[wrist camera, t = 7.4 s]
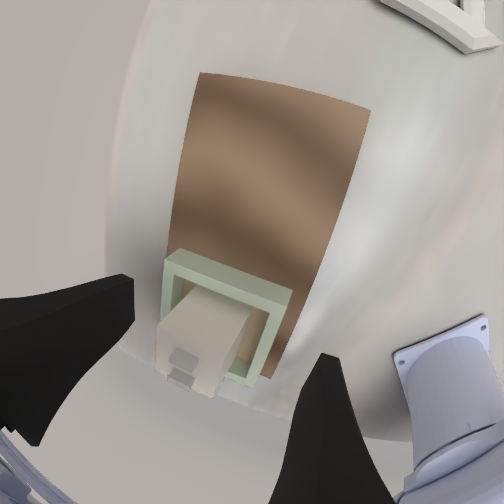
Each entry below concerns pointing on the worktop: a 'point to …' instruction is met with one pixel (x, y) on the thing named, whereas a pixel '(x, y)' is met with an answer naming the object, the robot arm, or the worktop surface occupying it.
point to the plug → (201, 339)
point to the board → (265, 182)
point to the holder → (239, 288)
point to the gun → (451, 21)
